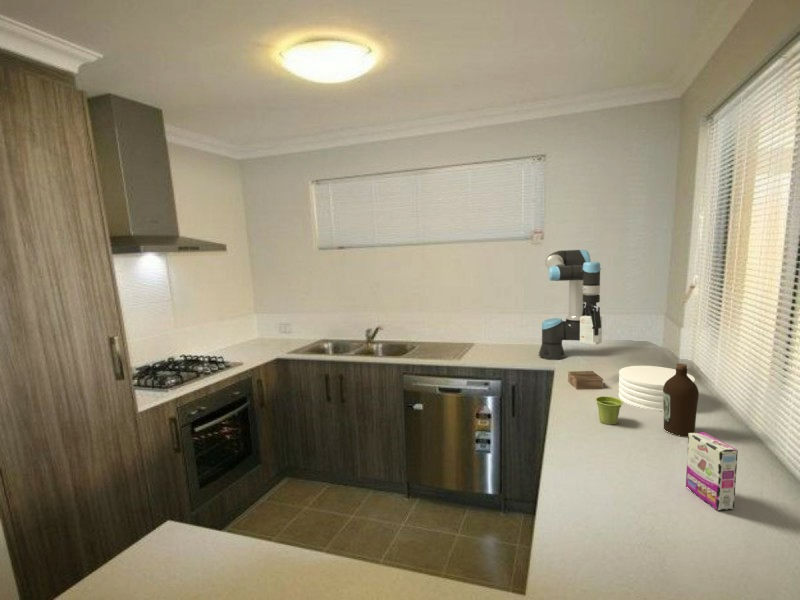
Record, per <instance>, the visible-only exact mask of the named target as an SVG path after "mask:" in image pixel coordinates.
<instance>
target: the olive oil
mask: <svg viewBox="0 0 800 600" xmlns="http://www.w3.org/2000/svg"><path fill="white" fill-rule="evenodd" d="M687 367H688V365H687V364H685V363H677V364H676V367H675V370H676V374H675V375H674V376H673V377H671V378H670V379H669V380H667V381H666V382H665V384H664V387H663V407H664V412H663V430H664V429H665V430H666V431H668V432H670V433H673V434H676V435H680V436H679V437H682V436H688V433H696V432H695V431H696V421H697V420H696V419H697V412H698V404H699V395H700V394H699V389H698V386H697V383H696V382H695V383H694V382H693V381H692V380H691V379H690V378H689V377H688V376H687V373H688V368H687ZM665 430H664V431H665ZM666 431H665V432H666ZM668 432H667V433H668ZM670 433H669V434H670ZM673 434H672V435H673ZM676 435H675V436H676Z"/></svg>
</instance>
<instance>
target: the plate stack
mask: <svg viewBox="0 0 800 600" xmlns="http://www.w3.org/2000/svg"><path fill="white" fill-rule="evenodd" d="M675 374H676V368H675V369H674V368H670V367H664V366H663V367H662V366H654V365H630V366H625V367H622V368H620V369H619V371H618V399H620V400H621V401H622V402H623V401H624V402H623V403H625V404H626V405H629V404H630V405H629V406H631V405H633V406H632V407H634V406H636V407H635V408H637V407H640V408H639V409H641V408H644V409H643V410H645V409H649V410H648V411H650V410H655V411H654V412H657V411H664V407H663V387H664V384H665V382H666V381H667V380H669V379H670V378H671V377H673V376H674V375H675ZM687 376H688V377H689V378H690V379H691V380H692V381H693V382H694V383H695V384H696V379H695V377H694V376H693V375H691V374H689V372H687Z"/></svg>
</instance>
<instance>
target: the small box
mask: <svg viewBox="0 0 800 600" xmlns="http://www.w3.org/2000/svg"><path fill="white" fill-rule="evenodd" d="M600 319H601V328H599V342H592V327H593V324H592V319H591V316H582V317H580V341H579V344H587V345H593V346H597V345H600V344H602V341H603V340H602V339H603V336H602V335H603V334H602V333H603V332H602V331H603V325H602V323H603V317H602V316H600Z"/></svg>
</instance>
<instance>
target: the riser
mask: <svg viewBox="0 0 800 600" xmlns="http://www.w3.org/2000/svg"><path fill="white" fill-rule="evenodd" d="M603 381H604V378H603V377H602V376H600V375H599V374H598V373H596V372H595V371H594V370H582V371H579V370H578V371H567V382H568V383H569V384H570V385H571V386H572V387H573V388H575V390H603V389H604V388H603V384H604V383H603Z"/></svg>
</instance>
